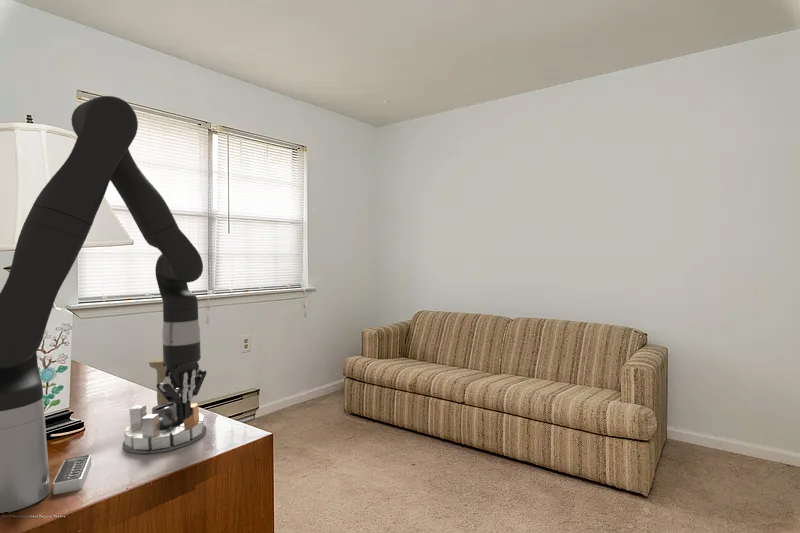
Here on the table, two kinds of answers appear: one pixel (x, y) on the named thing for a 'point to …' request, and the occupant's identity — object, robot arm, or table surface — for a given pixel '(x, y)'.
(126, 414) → the table surface
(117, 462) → the table surface
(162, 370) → the handle
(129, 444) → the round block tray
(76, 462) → the multiport hub
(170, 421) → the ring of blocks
